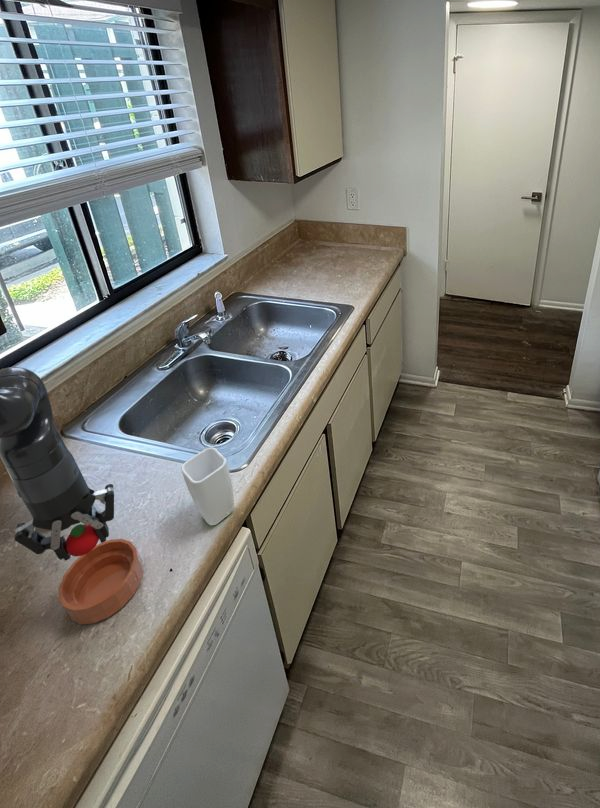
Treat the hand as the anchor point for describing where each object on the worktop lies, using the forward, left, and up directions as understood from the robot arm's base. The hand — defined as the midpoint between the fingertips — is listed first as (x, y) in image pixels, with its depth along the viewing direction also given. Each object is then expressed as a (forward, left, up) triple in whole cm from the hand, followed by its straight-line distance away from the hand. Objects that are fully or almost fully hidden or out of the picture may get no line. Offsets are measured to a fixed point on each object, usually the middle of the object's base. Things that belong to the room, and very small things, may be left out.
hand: (86, 546), depth 77 cm
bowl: (0, 0, -12) cm, 12 cm away
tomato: (0, 0, -1) cm, 1 cm away
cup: (+21, +4, -13) cm, 25 cm away
